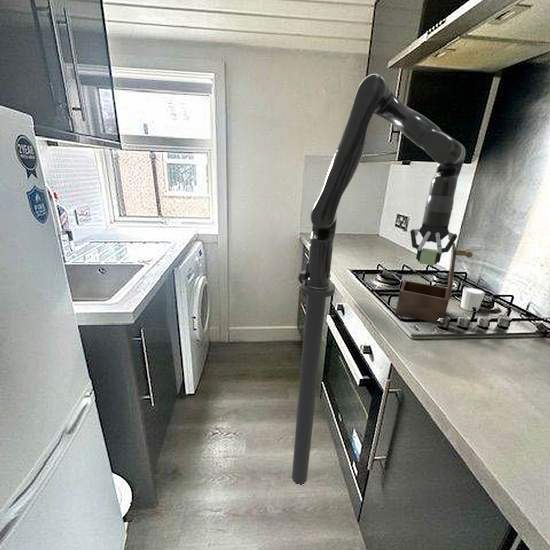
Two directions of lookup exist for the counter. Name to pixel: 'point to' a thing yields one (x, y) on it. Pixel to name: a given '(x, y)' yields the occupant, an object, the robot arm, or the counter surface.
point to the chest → (422, 301)
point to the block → (428, 256)
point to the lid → (452, 264)
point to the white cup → (471, 298)
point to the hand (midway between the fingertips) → (427, 262)
